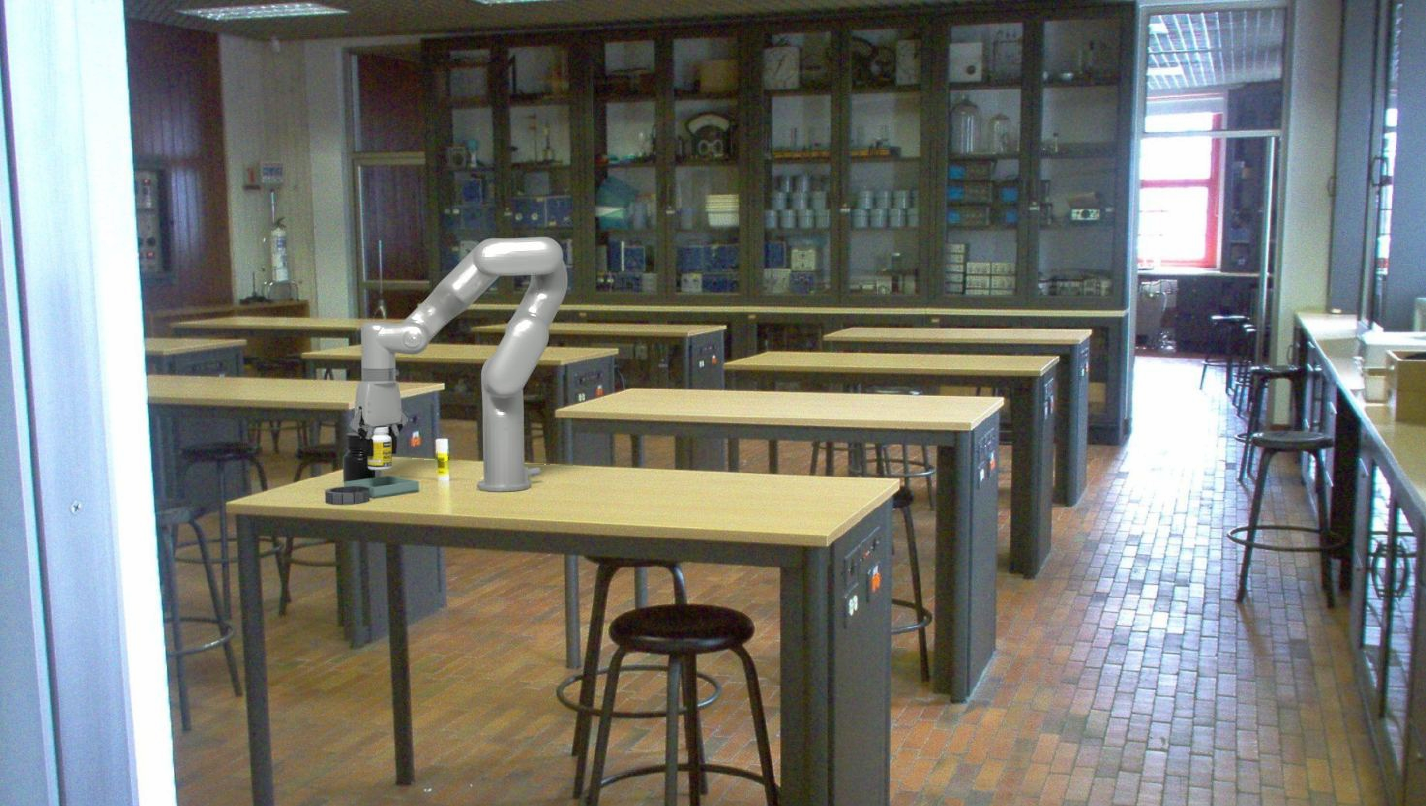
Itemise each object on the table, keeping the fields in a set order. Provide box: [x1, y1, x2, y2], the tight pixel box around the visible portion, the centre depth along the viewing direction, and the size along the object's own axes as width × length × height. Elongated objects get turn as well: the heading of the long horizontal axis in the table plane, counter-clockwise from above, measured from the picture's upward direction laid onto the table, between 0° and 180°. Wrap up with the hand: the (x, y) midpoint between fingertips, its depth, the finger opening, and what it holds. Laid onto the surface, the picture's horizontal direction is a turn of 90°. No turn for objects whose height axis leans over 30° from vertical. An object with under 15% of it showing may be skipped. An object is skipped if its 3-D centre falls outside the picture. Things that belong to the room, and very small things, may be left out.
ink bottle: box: [342, 431, 383, 483], centre depth 316 cm, size 10×9×12 cm
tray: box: [343, 475, 420, 500], centre depth 305 cm, size 12×12×2 cm
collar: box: [324, 486, 371, 506], centre depth 293 cm, size 9×9×2 cm
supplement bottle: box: [368, 425, 393, 471], centre depth 304 cm, size 5×5×10 cm
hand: (379, 453), depth 304 cm, fingers closed on supplement bottle, 5 cm apart
